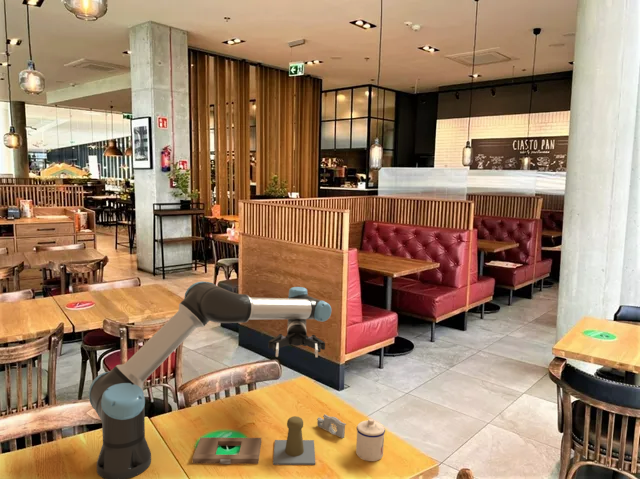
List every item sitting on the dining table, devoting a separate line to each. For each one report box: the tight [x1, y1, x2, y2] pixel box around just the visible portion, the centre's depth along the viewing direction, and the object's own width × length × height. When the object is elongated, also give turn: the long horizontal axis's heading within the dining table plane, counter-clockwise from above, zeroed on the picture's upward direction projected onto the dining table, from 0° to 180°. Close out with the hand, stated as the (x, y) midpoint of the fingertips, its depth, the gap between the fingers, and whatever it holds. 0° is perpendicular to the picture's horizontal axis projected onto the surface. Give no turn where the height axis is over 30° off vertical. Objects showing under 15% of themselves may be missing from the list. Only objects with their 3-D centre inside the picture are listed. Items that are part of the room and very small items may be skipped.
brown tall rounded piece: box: [285, 416, 304, 456], centre depth 153 cm, size 6×6×11 cm
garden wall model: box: [316, 414, 347, 439], centre depth 167 cm, size 12×2×6 cm, turn 48°
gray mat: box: [272, 439, 316, 466], centre depth 153 cm, size 13×13×1 cm
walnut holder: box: [192, 436, 262, 465], centre depth 152 cm, size 20×13×2 cm, turn 93°
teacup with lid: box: [355, 418, 386, 462], centre depth 155 cm, size 12×9×12 cm
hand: (296, 353), depth 164 cm, fingers open, 13 cm apart
